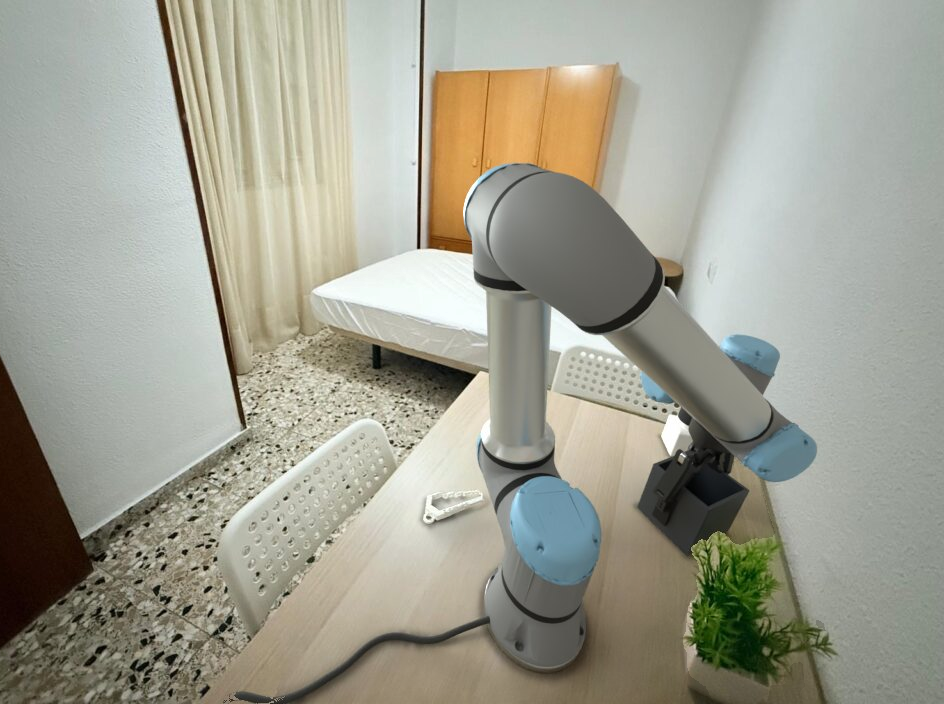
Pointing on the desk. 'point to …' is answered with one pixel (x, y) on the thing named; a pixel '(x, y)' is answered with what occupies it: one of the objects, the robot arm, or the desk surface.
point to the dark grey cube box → (695, 505)
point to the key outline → (449, 511)
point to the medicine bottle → (677, 432)
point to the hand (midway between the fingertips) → (680, 509)
